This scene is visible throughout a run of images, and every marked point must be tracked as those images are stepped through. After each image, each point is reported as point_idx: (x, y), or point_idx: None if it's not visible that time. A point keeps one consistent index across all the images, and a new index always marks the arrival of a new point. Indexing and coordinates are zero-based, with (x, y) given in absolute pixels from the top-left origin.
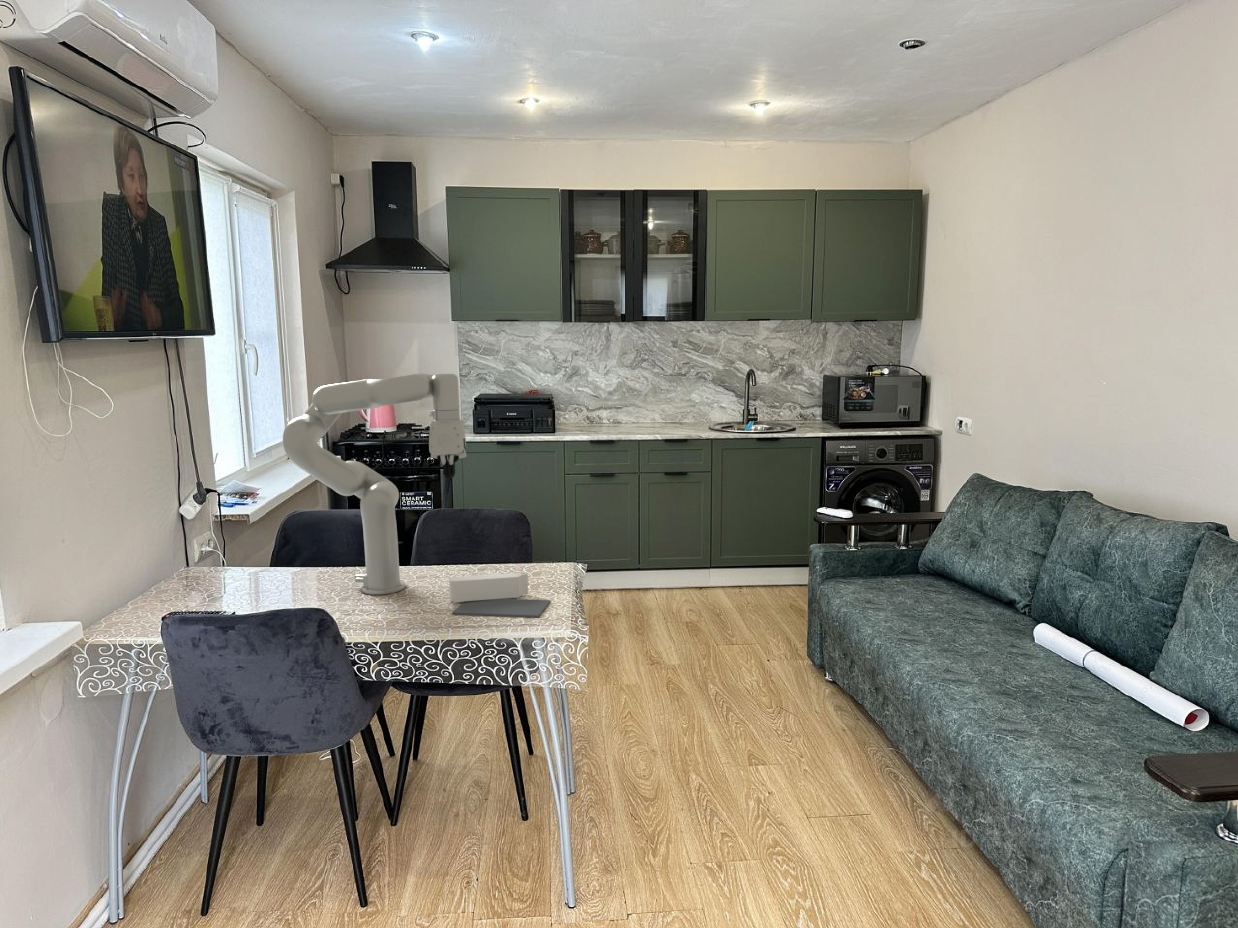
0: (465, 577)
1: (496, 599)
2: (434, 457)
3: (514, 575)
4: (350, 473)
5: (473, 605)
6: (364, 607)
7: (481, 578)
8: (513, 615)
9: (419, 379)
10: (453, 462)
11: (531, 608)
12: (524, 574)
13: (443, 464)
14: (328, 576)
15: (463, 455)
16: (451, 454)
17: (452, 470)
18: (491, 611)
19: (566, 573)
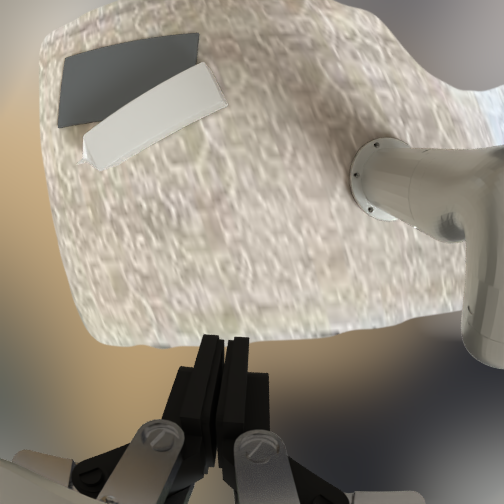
0: (184, 103)
1: None
2: (381, 498)
3: (92, 145)
4: None
5: (168, 71)
6: (378, 69)
7: (146, 100)
8: (98, 49)
9: None
10: (138, 440)
11: (76, 81)
12: (80, 161)
13: (260, 432)
14: None
15: (24, 467)
16: (77, 495)
17: (177, 387)
18: (131, 51)
19: (79, 287)
